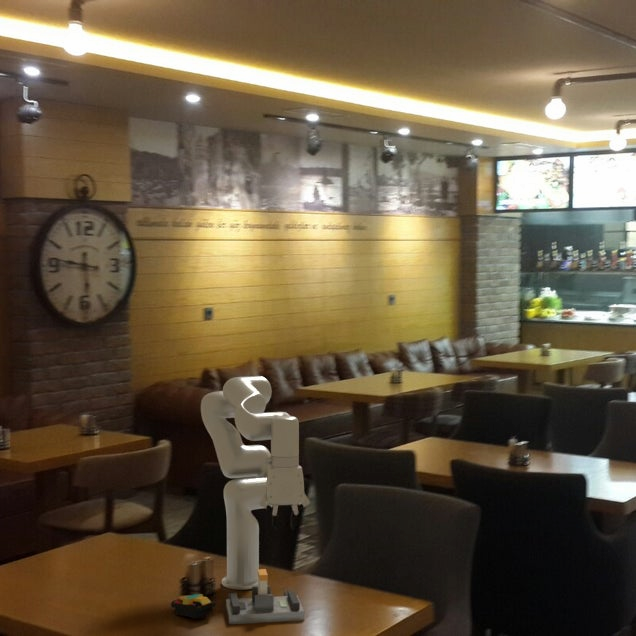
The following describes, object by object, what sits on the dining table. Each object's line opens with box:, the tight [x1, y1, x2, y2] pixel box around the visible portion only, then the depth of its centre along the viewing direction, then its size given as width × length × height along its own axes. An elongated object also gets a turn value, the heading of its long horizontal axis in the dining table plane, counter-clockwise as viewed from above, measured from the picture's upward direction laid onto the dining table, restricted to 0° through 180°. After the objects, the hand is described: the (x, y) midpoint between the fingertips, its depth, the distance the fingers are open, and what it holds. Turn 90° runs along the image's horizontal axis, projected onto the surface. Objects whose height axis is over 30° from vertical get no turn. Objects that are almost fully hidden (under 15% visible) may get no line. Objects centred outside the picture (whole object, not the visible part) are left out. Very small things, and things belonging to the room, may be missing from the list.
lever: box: [258, 568, 269, 595], centre depth 260 cm, size 6×2×9 cm, turn 10°
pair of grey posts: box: [227, 589, 300, 613], centre depth 264 cm, size 18×18×4 cm
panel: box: [225, 584, 305, 625], centre depth 260 cm, size 13×20×6 cm, turn 100°
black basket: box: [170, 593, 216, 620], centre depth 259 cm, size 6×13×6 cm, turn 49°
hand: (284, 528), depth 260 cm, fingers open, 3 cm apart
